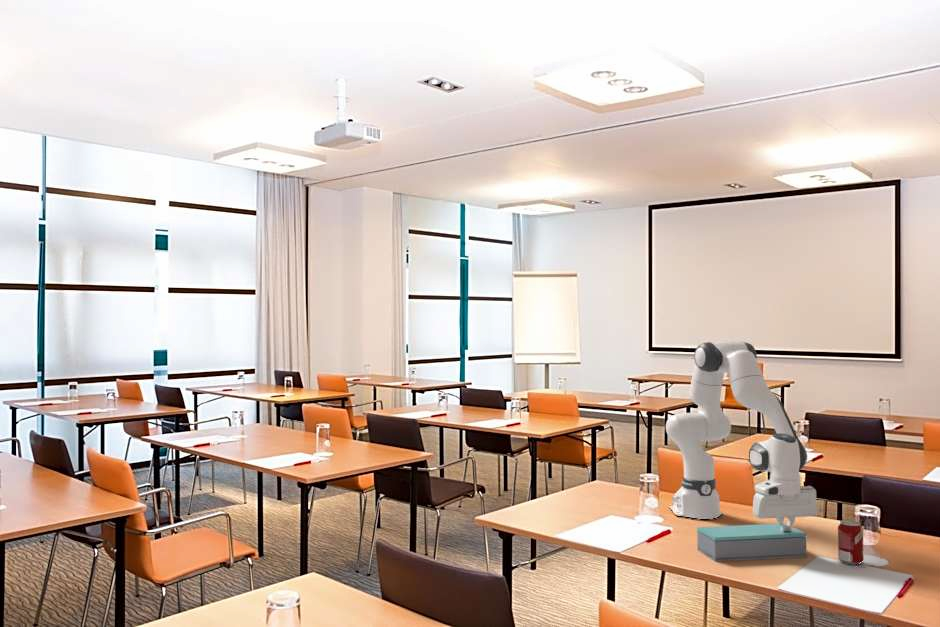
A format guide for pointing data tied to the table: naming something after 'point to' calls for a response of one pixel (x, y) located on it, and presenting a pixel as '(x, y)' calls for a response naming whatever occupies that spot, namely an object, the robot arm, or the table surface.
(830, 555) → the table surface
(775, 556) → the grey open box
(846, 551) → the soda can
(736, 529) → the lid
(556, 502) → the table surface
